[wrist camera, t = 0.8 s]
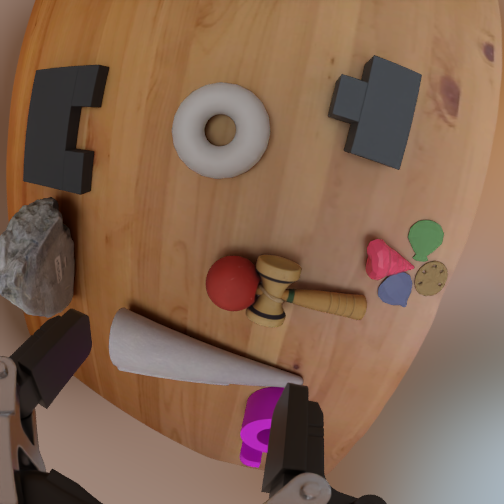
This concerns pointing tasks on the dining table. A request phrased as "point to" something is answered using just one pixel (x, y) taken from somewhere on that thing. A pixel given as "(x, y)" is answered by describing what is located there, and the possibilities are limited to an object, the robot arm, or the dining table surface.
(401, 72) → the grey pad
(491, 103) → the dining table surface
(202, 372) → the grey hollow cone
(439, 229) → the toy pieces
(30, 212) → the decorative rock
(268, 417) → the tape dispenser
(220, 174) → the donut
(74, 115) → the black pad
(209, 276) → the kendama
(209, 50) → the dining table surface
